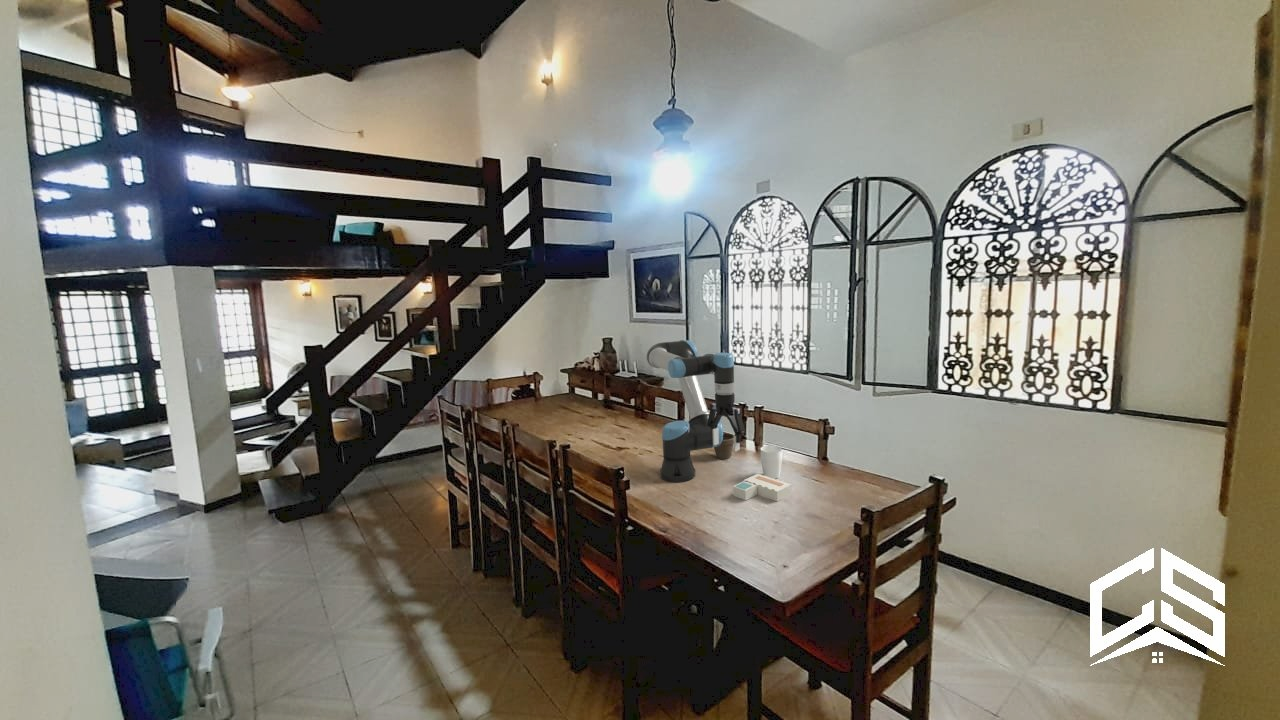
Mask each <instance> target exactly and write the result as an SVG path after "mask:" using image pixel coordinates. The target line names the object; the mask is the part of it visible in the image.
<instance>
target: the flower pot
mask: <svg viewBox="0 0 1280 720" xmlns="http://www.w3.org/2000/svg"><path fill="white" fill-rule="evenodd" d="M734 435H735V434H733V433H728V432H723V439H722V442H721V444H720V445H719V446H716V447H713V448H714V453H715V456H716V458H717V459H720V460H727V459H730V458H731V456H732V454H733V453H732V452H733V449H734Z"/></svg>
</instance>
